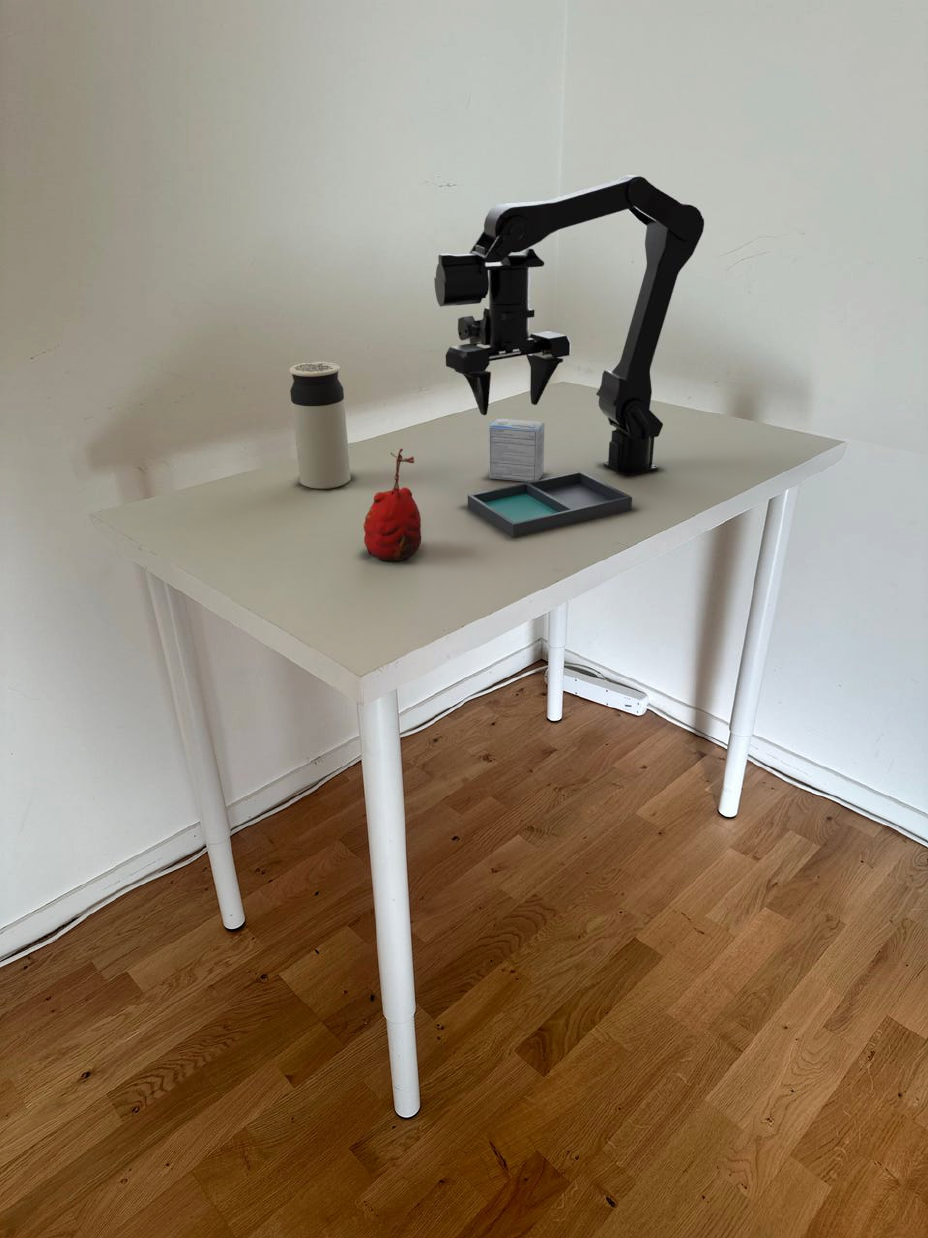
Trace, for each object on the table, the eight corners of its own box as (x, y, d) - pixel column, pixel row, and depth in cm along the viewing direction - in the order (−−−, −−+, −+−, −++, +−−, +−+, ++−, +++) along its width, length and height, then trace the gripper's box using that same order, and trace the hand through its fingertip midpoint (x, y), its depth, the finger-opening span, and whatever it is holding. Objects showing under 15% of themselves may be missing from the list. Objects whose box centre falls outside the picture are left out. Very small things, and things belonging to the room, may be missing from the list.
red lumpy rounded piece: (407, 538, 124) (401, 431, 117) (433, 556, 119) (429, 445, 111) (357, 551, 120) (348, 442, 113) (382, 570, 115) (374, 456, 108)
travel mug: (329, 493, 140) (317, 375, 131) (289, 484, 143) (276, 369, 135) (360, 478, 145) (352, 364, 137) (322, 469, 149) (311, 358, 140)
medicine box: (544, 474, 145) (545, 421, 141) (536, 484, 141) (538, 429, 137) (497, 470, 148) (497, 417, 143) (488, 479, 144) (488, 425, 140)
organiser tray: (580, 483, 142) (580, 470, 141) (631, 509, 131) (632, 496, 130) (467, 507, 133) (467, 494, 132) (513, 538, 123) (513, 524, 122)
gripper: (529, 287, 140) (528, 388, 147) (424, 301, 131) (429, 407, 139) (574, 296, 131) (571, 403, 139) (465, 312, 123) (467, 425, 130)
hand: (509, 409), depth 137 cm, fingers open, 9 cm apart
